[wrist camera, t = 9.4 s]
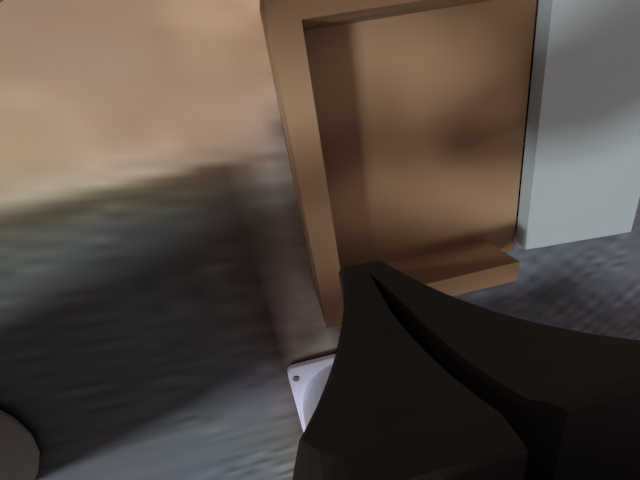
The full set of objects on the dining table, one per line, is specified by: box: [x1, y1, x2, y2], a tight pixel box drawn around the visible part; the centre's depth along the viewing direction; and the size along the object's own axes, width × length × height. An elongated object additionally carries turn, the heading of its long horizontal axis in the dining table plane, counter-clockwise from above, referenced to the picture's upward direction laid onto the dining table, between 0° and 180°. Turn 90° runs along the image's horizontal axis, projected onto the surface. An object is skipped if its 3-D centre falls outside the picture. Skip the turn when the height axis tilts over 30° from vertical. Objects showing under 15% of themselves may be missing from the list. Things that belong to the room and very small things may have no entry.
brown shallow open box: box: [260, 0, 537, 327], centre depth 17 cm, size 15×13×4 cm
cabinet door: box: [516, 0, 640, 250], centre depth 18 cm, size 1×14×6 cm
